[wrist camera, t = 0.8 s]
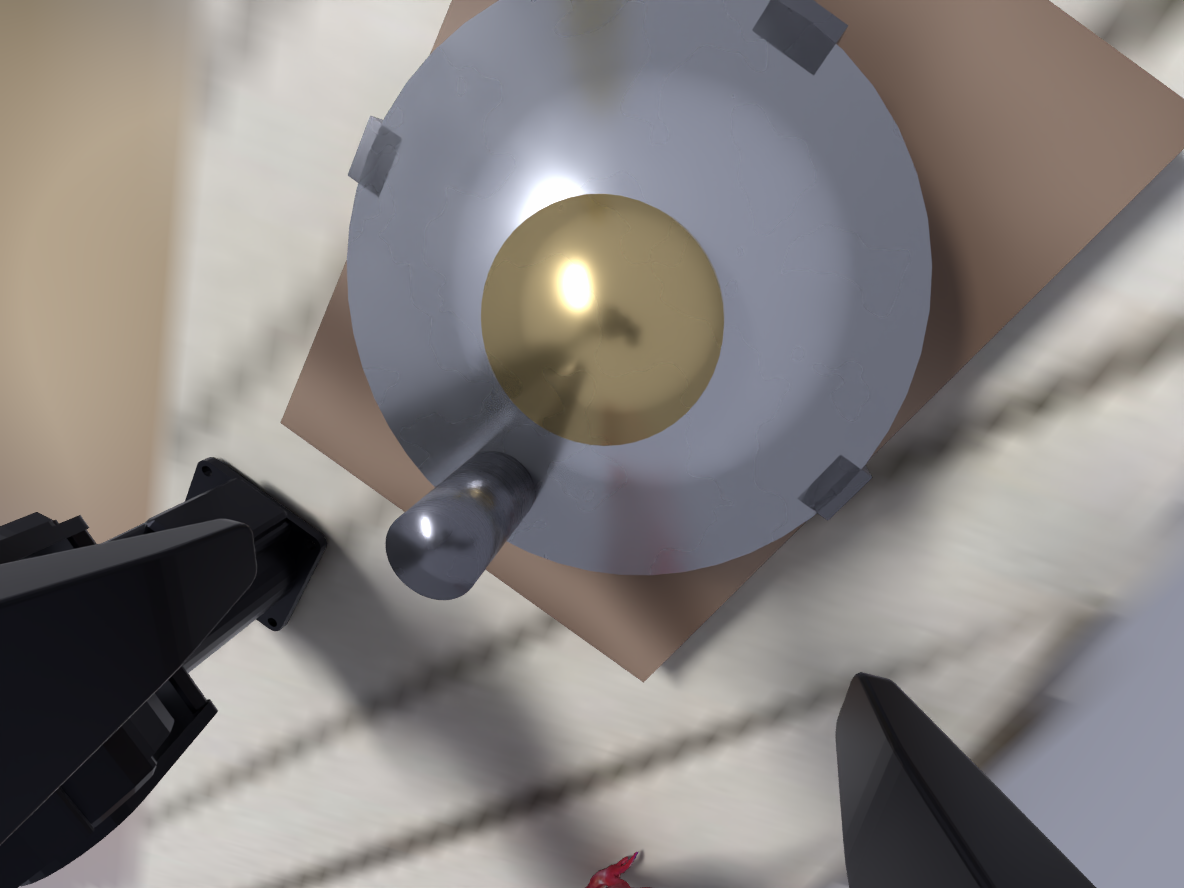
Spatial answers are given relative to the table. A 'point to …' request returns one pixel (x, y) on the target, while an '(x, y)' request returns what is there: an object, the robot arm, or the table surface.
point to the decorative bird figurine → (612, 875)
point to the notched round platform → (634, 283)
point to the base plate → (957, 239)
